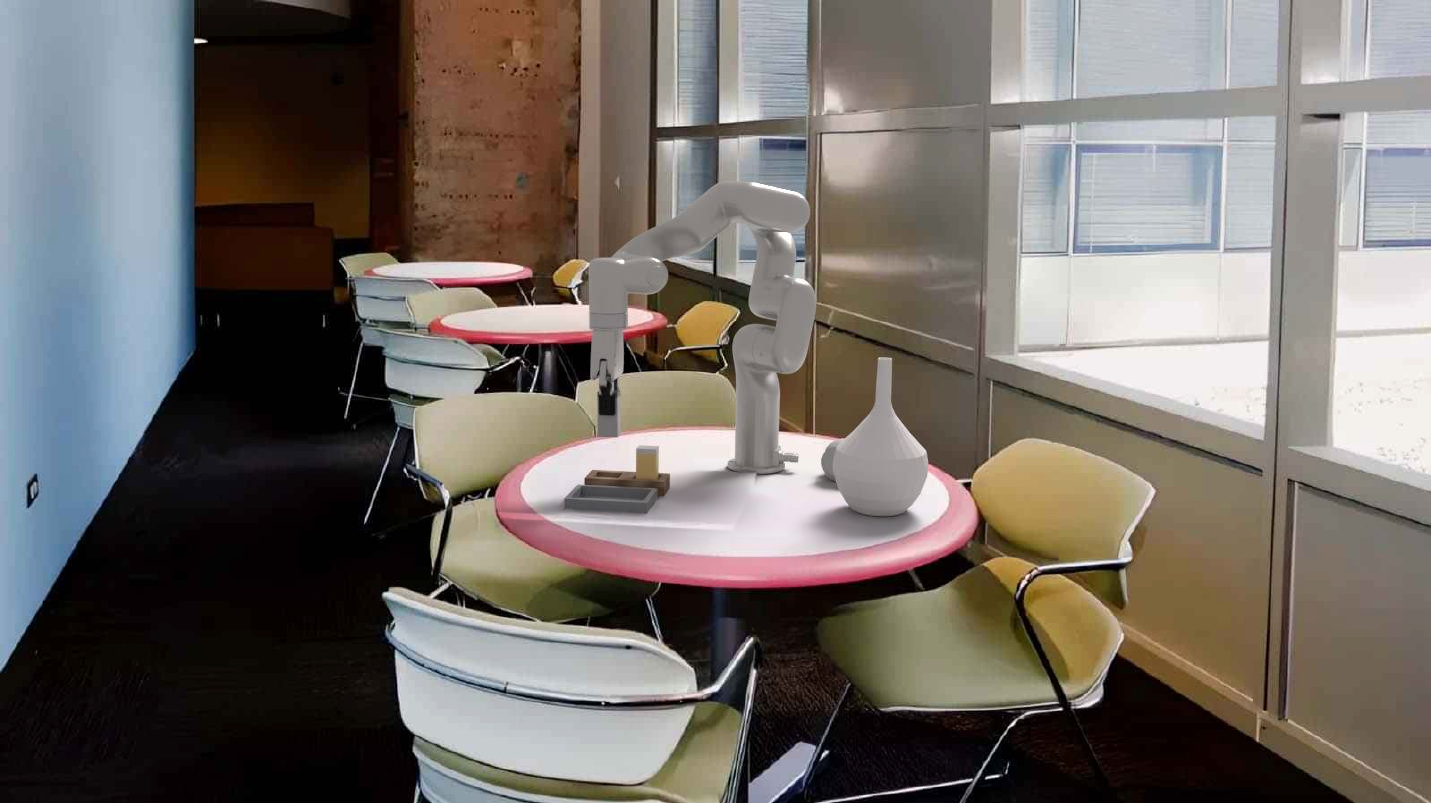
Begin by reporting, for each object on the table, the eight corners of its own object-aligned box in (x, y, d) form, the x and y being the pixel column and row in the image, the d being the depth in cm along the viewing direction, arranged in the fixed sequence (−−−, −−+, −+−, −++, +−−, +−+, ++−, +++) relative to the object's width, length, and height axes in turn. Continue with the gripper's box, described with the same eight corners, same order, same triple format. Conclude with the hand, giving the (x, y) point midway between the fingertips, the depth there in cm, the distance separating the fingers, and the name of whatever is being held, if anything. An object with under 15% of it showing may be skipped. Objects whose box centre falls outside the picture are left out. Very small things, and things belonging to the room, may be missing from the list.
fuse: (658, 489, 264) (658, 446, 262) (655, 493, 261) (656, 449, 259) (638, 488, 264) (639, 445, 263) (635, 492, 261) (636, 448, 260)
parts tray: (657, 503, 258) (657, 488, 257) (647, 518, 247) (647, 502, 246) (577, 499, 260) (577, 484, 259) (564, 513, 249) (564, 498, 248)
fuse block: (669, 492, 266) (669, 473, 265) (663, 501, 259) (664, 481, 258) (592, 488, 268) (592, 469, 267) (584, 497, 261) (584, 477, 260)
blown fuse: (620, 434, 263) (620, 390, 261) (617, 437, 260) (617, 392, 258) (601, 433, 264) (600, 389, 262) (597, 436, 261) (597, 392, 259)
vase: (832, 521, 247) (838, 364, 241) (829, 496, 265) (834, 350, 259) (931, 524, 246) (939, 367, 241) (921, 499, 264) (928, 352, 259)
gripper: (598, 315, 266) (599, 404, 269) (580, 326, 250) (581, 420, 254) (635, 316, 265) (635, 406, 268) (618, 327, 249) (619, 422, 253)
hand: (609, 412), depth 261 cm, fingers closed on blown fuse, 3 cm apart
